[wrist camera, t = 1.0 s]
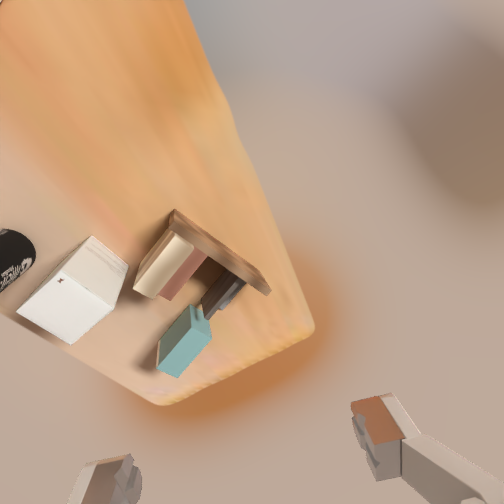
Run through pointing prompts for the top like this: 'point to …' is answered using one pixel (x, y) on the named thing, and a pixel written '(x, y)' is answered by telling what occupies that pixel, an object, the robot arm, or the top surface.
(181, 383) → the top surface
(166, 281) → the book stack with bookend
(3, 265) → the beverage can
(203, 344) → the boxed book
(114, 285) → the supplement box
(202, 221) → the top surface
